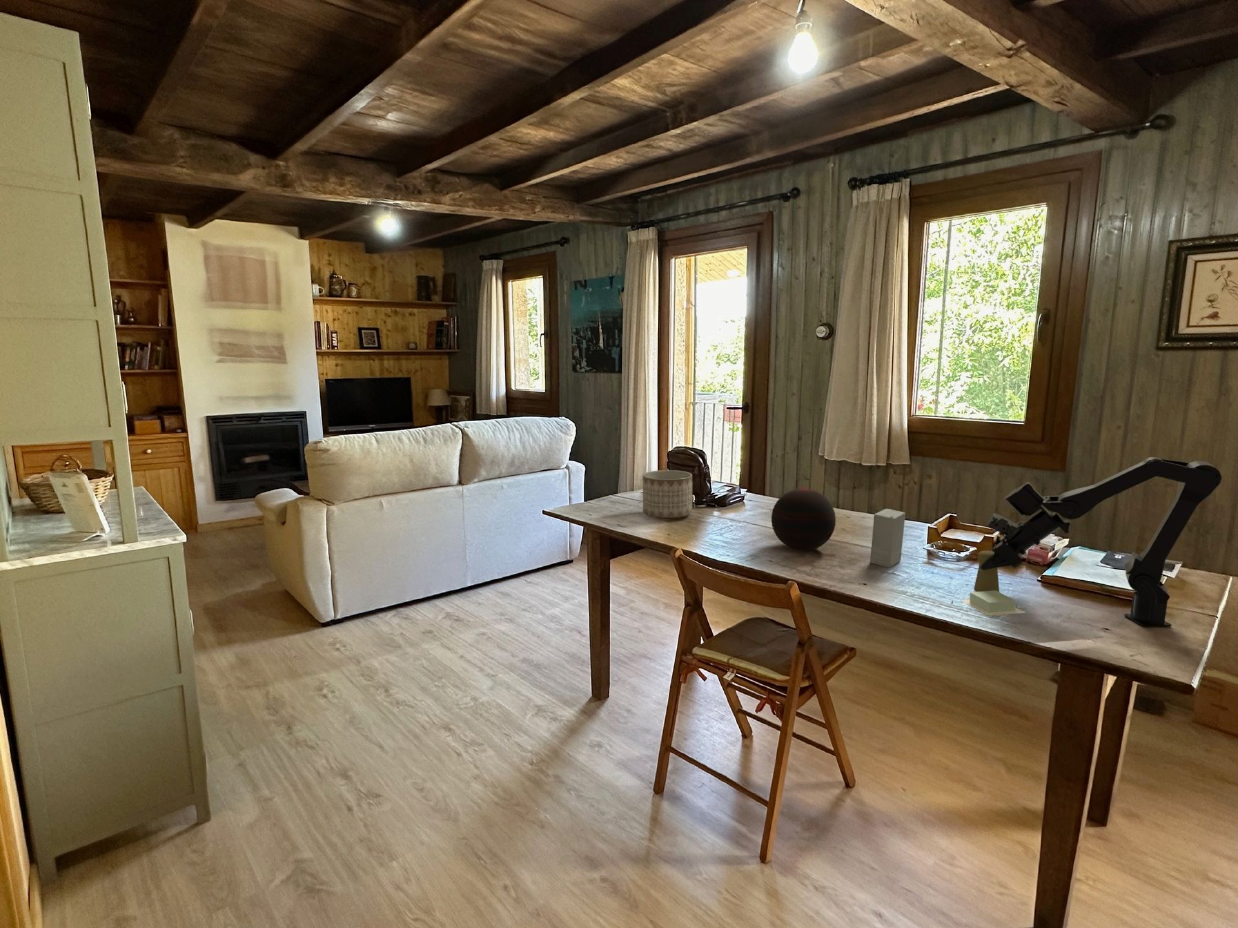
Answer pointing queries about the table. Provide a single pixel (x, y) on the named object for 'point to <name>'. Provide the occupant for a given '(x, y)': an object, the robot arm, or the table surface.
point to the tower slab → (991, 612)
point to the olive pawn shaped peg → (986, 575)
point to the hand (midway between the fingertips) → (982, 565)
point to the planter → (667, 494)
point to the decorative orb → (803, 519)
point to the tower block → (992, 601)
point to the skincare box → (887, 537)
